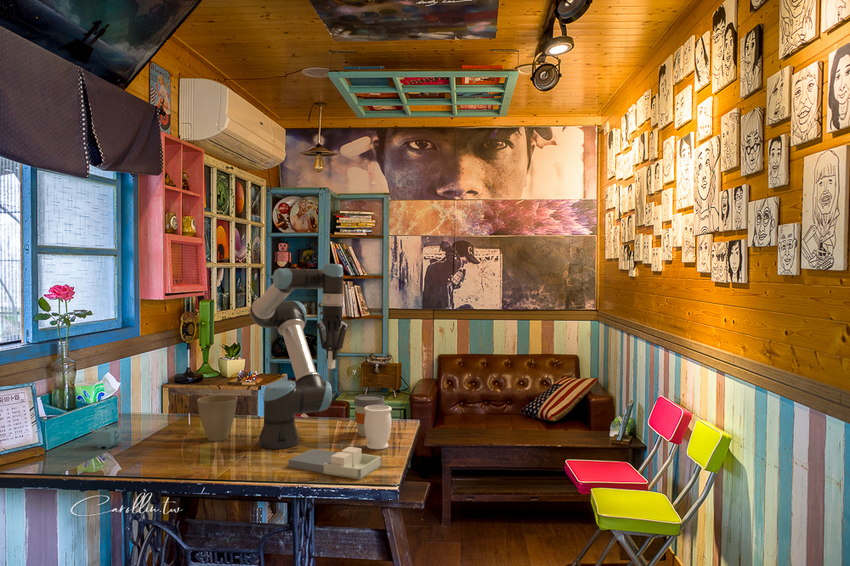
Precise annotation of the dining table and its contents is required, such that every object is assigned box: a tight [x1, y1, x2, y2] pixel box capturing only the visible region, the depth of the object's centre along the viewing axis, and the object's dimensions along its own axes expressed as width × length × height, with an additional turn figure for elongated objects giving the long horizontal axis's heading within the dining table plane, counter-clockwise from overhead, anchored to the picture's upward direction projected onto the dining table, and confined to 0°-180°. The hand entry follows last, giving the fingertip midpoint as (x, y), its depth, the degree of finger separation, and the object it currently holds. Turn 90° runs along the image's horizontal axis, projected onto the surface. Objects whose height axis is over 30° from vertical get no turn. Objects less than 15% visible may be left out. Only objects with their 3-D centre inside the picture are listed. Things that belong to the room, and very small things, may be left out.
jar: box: [364, 404, 393, 450], centre depth 216 cm, size 11×10×15 cm
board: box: [288, 448, 339, 474], centre depth 195 cm, size 14×14×2 cm
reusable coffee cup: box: [353, 393, 385, 437], centre depth 235 cm, size 13×13×15 cm
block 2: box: [340, 446, 362, 467], centre depth 193 cm, size 5×5×5 cm
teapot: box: [89, 425, 122, 450], centre depth 212 cm, size 12×6×8 cm, turn 87°
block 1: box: [331, 451, 352, 467], centre depth 187 cm, size 5×5×5 cm
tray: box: [323, 453, 383, 481], centre depth 189 cm, size 14×15×3 cm
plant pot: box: [196, 394, 238, 442], centre depth 224 cm, size 15×15×16 cm
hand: (331, 368), depth 211 cm, fingers closed
